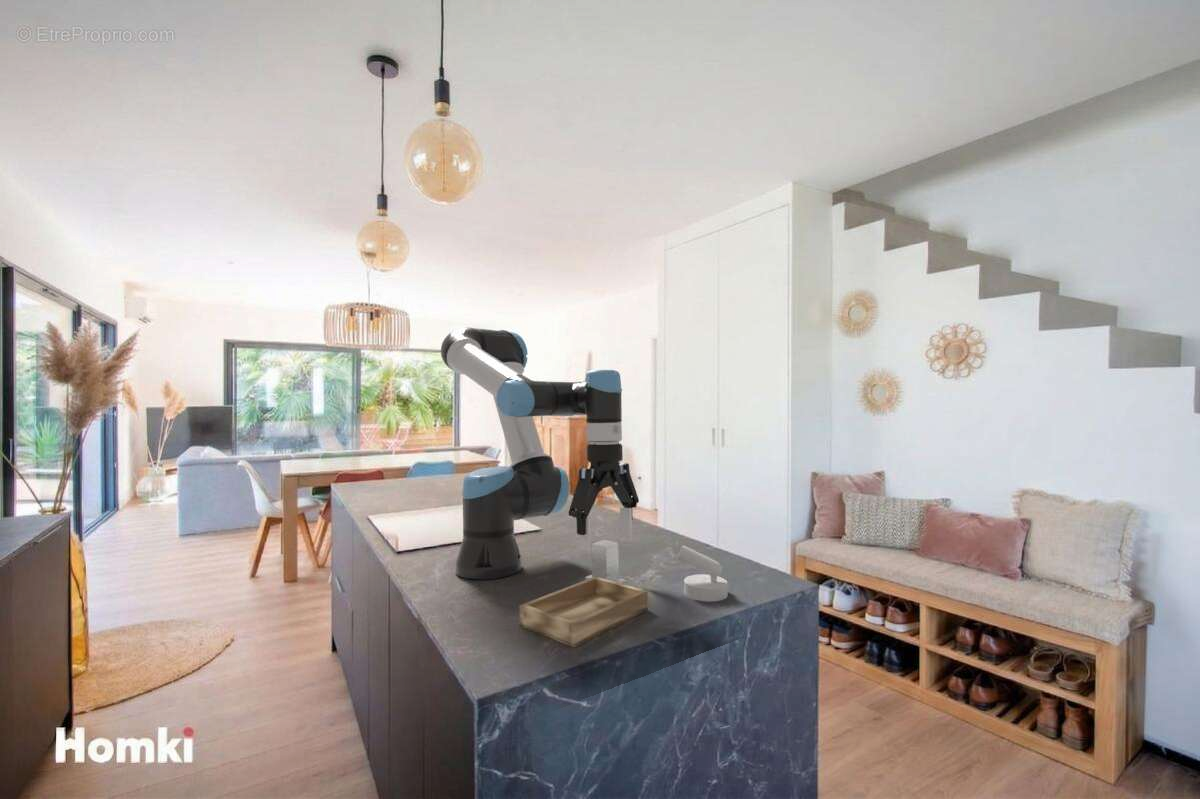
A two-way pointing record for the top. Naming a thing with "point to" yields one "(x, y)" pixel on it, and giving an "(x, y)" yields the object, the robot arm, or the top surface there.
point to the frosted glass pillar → (605, 561)
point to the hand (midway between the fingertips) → (606, 543)
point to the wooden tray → (583, 610)
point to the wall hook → (703, 577)
